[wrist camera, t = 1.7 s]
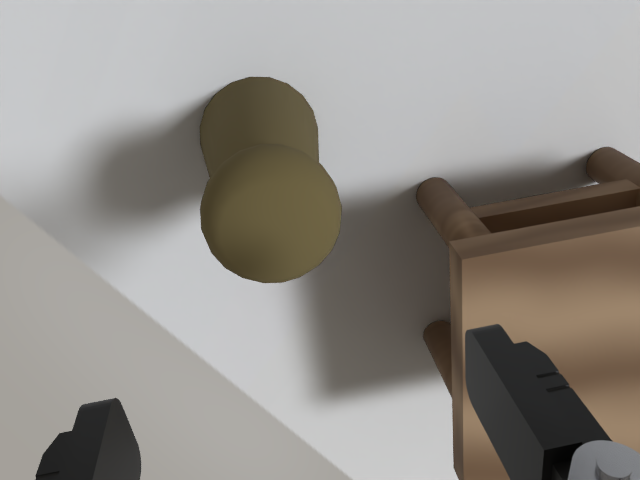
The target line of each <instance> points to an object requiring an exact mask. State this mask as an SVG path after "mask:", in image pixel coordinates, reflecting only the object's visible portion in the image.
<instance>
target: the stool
mask: <svg viewBox="0 0 640 480" xmlns="http://www.w3.org/2000/svg"><path fill="white" fill-rule="evenodd" d="M586 172H587V174H588V176H589V177H590V178H592V179H593V180H595V181H596V182H597V183H599V184H597V185H591V186H586V187H580V188H575V189H569V190H564V191H558V192H553V193H547V194H542V195H536V196H531V197H525V198H520V199H514V200H509V201H503V202H498V203H492V204H487V205H481V206H476V207H470V208H469V207H468V206H467V204H466V203H465V202H464V201H463V200H462V199H461V197H460V196H459V195H458V194H457V193H456V192H455V190H454V189H453V188H452V187H451V186H450V185H449V184H448V182H447V181H446V180H444V179H442V178H430V179H428V180H426V181H424V182H423V183H422V184H421V185H420V187H419V188H418V190H417V194H416V199H417V202H418V204H419V205H420V207H421V208H422V210H423V211H424V213H425V214H426V216H427V217H428V219H429V220H430V221H431V223H432V224H433V226H434V227H435V229H436V230H437V232H438V233H439V234H440V236H441V237H442V239H443V240H444V242H445V243H446V245H447V246H448V247H449V263H450V312H451V324H450V323H448V322H446V321H436V322H433V323H431V324H430V325H429V326H428V327H427V328H426V329H425V331H424V334H423V338H424V340H425V342H426V345H427V347H428V349H429V351H430V353H431V355H432V357H433V359H434V361H435V363H436V366H437V368H438V370H439V372H440V374H441V376H442V378H443V380H444V382H445V384H446V386H447V389H448V391H449V393H450V395H451V397H452V409H453V458H454V469H455V472H456V474H457V477H458V479H459V480H510V478H509V476H508V474H507V472H506V470H505V468H504V466H503V464H502V462H501V460H500V458H499V457H498V455H497V453H496V451H495V449H494V447H493V445H492V443H491V441H490V439H489V437H488V435H487V433H486V431H485V430H484V428H483V426H482V424H481V422H480V420H479V418H478V416H477V414H476V412H475V410H474V408H473V406H472V404H471V402H470V399H469V395H468V392H467V387H466V379H465V333H466V331H467V330H469V329H474V328H479V327H484V326H489V325H494V324H499V325H501V326H502V327H503V329H504V330H505V332H506V333H507V335H508V336H509V337H510V339H511V340H512V342H513V343H514V344H515V343H520V342H525V341H527V342H529V343H530V344H532V345H533V346H535V347H536V348H538V349H539V350H541V351H542V352H544V353H545V354H547V356H548V357H549V358H550V360H551V361H552V362H553V364H554V365H555V366H556V368H557V369H558V370H559V373H560V374H562V375H563V377H564V378H565V379H566V381H567V382H568V383H569V386H570V388H572V389H573V390H574V391H575V393H576V394H577V395H578V397H579V398H580V399H581V401H582V402H583V403H584V404H585V406H586V407H587V408H588V410H589V411H590V412H591V414H592V415H593V416H594V418H595V419H596V420H597V422H598V423H599V424H600V426H601V427H602V428H603V430H604V431H605V432H606V434H607V435H608V436H609V437H610V439H611V440H612V441H613V442H617V443H620V444H623V445H625V446H628V447H630V448H632V449H633V450H635V451H637V452H638V453H639V454H640V163H638V162H637V161H635V160H633V159H631V158H630V157H628V156H626V155H624V154H623V153H621V152H619V151H617V150H616V149H614V148H611V147H604V148H601V149H599V150H597V151H595V152H594V153H593V154H592V155H591V156H590V158H589V159H588V162H587V165H586Z"/></svg>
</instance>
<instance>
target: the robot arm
mask: <svg viewBox="0 0 640 480" xmlns="http://www.w3.org/2000/svg"><path fill="white" fill-rule="evenodd" d="M465 379H466V387H467V392H468V395H469V399H470V402H471V404H472V406H473V408H474V410H475V412H476V414H477V416H478V418H479V420H480V422H481V424H482V426H483V428H484V430H485V431H486V433H487V435H488V437H489V439H490V441H491V443H492V445H493V447H494V449H495V451H496V453H497V455H498V457H499V458H500V460H501V462H502V464H503V466H504V468H505V470H506V472H507V474H508V476H509V478H510V480H640V454H639V453H638V452H637V451H635V450H633V449H632V448H630V447H628V446H625V445H623V444H620V443H617V442H613V441H612V440H611V439H610V437H609V436H608V435H607V434H606V432H605V431H604V430H603V428H602V427H601V426H600V424H599V423H598V422H597V420H596V419H595V418H594V416H593V415H592V414H591V412H590V411H589V410H588V408H587V407H586V406H585V404H584V403H583V402H582V401H581V399H580V398H579V397H578V395H577V394H576V393H575V391H574V390H573V389H572V388H570V386H569V383H568V382H567V381H566V379H565V378H564V377H563V375H562V374H560V373H559V370H558V369H557V368H556V366H555V365H554V364H553V362H552V361H551V360H550V358H549V357H548V356H547V354H545V353H544V352H542V351H541V350H539V349H538V348H536V347H535V346H533V345H532V344H530V343H529V342H527V341H525V342H520V343H515V344H514V343H513V342H512V340H511V339H510V337H509V336H508V335H507V333H506V332H505V330H504V329H503V327H502V326H501V325H499V324H494V325H489V326H484V327H479V328H474V329H469V330H467V331H466V333H465ZM140 474H141V457H140V451H139V447H138V444H137V441H136V439H135V436H134V434H133V431H132V429H131V426H130V424H129V421H128V419H127V416H126V414H125V412H124V409H123V407H122V405H121V402H120V401H119V400H118V399H117V398H114V399H108V400H103V401H98V402H93V403H88V404H84V405H82V406H81V407H80V408H79V411H78V414H77V417H76V420H75V424H74V427H73V430H72V431H69V432H64V433H60V434H59V435H58V436H57V437H56V439H55V440H54V441H53V443H52V444H51V445H50V446H49V448H48V449H47V450H46V451H45V453H44V454H43V456H42V459H41V462H40V465H39V468H38V470H37V474H36V480H140Z"/></svg>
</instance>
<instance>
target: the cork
mask: <svg viewBox="0 0 640 480" xmlns="http://www.w3.org/2000/svg"><path fill="white" fill-rule="evenodd" d="M200 145H201V148H202V152H203V156H204V159H205V163H206V166H207V170H208V173H209V177H210V179H209V181H208V182H207V185H206V188H205V191H204V194H203V198H202V201H201V207H200V215H201V230H202V232H203V234H204V237H205V239H206V241H207V244H208V246H209V248H210V250H211V253H212V254H213V255H214V256H215V257H216V258H217V259H218V261H219V262H220V263H221V264H222V265H223V266H224V267H225V268H226V269H228V270H230V271H231V272H233V273H235V274H237V275H238V276H240V277H242V278H245V279H249V280H253V281H258V282H262V283H282V282H286V281H289V280H292V279H296V278H299V277H301V276H303V275H304V274H306V273H307V272H309V271H311V270H312V269H314V268H315V267H317V266H318V265H319V264H320V263H321V262H322V261H323V260H324V259H325V258H326V256H327V255H328V254H329V253H330V252H331V251H332V249H333V246H334V244H335V242H336V240H337V237H338V235H339V232H340V224H341V211H342V206H341V202H340V199H339V195H338V192H337V188H336V186H335V184H334V182H333V180H332V179H331V177H330V176H329V174H328V173H327V172H326V170H325V169H324V167H323V166H322V165H321V164H320V163H319V150H318V127H317V123H316V119H315V116H314V112H313V110H312V108H311V107H310V105H309V104H308V102H307V101H306V99H305V98H304V96H303V95H302V94H300V93H299V92H298V91H297V90H295V89H294V88H293V87H291V86H290V85H289V84H287V83H284V82H281V81H279V80H276V79H273V78H270V77H248V78H245V79H241V80H238V81H235V82H232V83H230V84H229V85H227V86H226V87H225V88H223V89H222V90H220V91H219V92H218V93H216V94H215V96H214V97H213V98H212V100H211V101H210V103H209V104H208V105H207V107H206V108H205V110H204V114H203V117H202V120H201V124H200Z"/></svg>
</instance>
